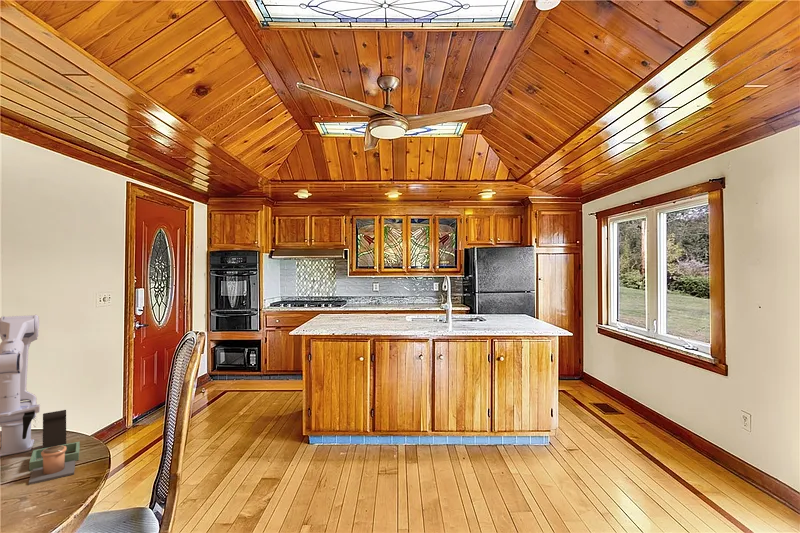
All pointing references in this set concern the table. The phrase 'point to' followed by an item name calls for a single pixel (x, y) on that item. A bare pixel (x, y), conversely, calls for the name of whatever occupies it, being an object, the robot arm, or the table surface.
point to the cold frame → (70, 447)
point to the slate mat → (40, 477)
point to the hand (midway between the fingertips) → (6, 441)
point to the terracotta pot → (53, 459)
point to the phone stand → (54, 428)
